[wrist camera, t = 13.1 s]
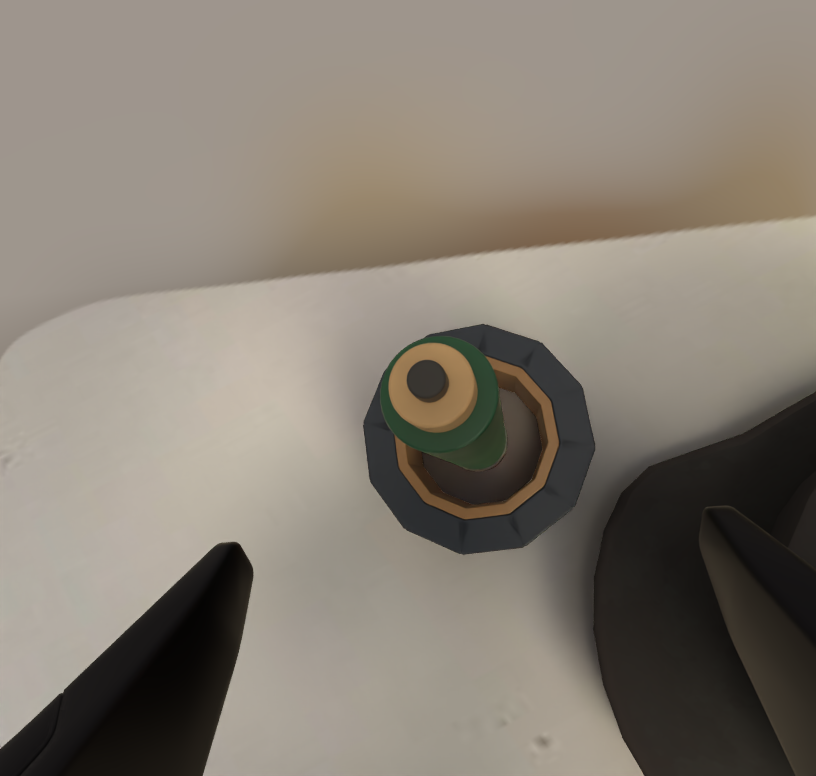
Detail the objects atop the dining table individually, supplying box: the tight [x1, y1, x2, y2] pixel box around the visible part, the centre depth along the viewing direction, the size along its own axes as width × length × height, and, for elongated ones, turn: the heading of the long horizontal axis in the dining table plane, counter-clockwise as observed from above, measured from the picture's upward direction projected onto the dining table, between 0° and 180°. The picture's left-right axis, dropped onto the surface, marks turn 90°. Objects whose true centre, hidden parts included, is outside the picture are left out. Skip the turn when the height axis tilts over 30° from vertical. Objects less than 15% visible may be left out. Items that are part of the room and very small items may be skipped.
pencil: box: [380, 336, 508, 472], centre depth 15 cm, size 2×2×14 cm
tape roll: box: [363, 324, 595, 555], centre depth 20 cm, size 8×8×4 cm
